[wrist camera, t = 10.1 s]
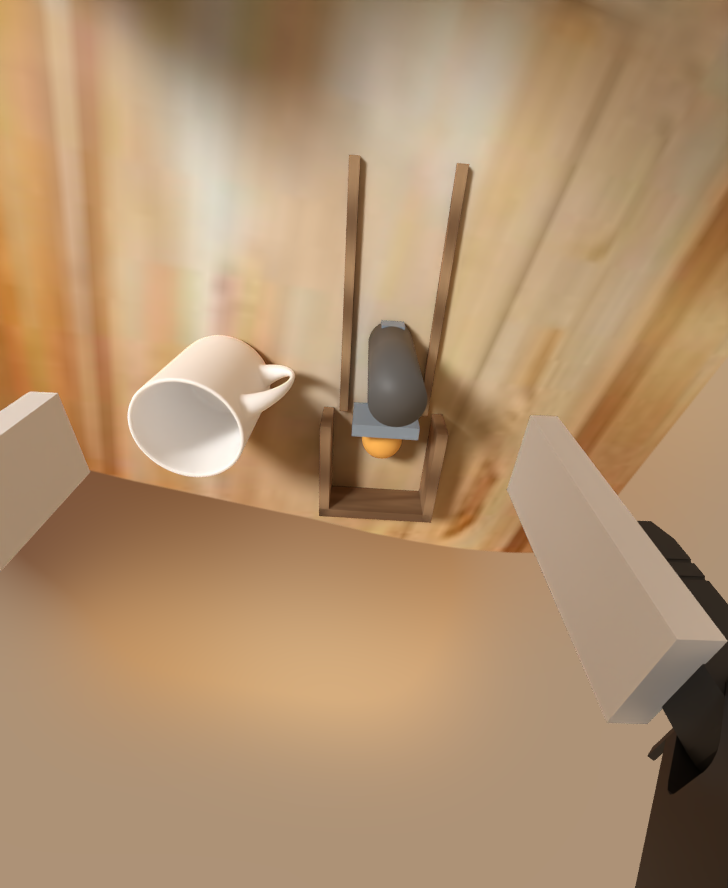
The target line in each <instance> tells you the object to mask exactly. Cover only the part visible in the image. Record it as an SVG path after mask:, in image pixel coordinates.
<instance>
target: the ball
mask: <svg viewBox="0 0 728 888" xmlns="http://www.w3.org/2000/svg"><path fill="white" fill-rule="evenodd" d="M362 443H363V446H364V448H365V450H366V451H367V452H368V453H369V454H370V455H372V456H374V457H376V458H388V457H391V456H392V455H394V454H395V453H396V452H397V451H398V450H399V448H400V446H401V443H402V439H390V438H374V437H362Z"/></svg>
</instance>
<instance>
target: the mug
mask: <svg viewBox="0 0 728 888" xmlns="http://www.w3.org/2000/svg"><path fill="white" fill-rule="evenodd" d="M287 376H290V378H289V380H288V381H286V382H285V383H283V384H282V385H280V386H278V387H275V388H273V389H270V384H272V383H274V382H275V381H277V380H279V379H281V378H284V377H287ZM294 380H295V373H294V371H293V370H292V369H291V368H289V367H286V366H283V365H266V364H265V362H264V360H263V359H262V357H261V356H260V355H259V354H258V353H257V352H256V351H255V350H254V349H253V348H252V347H251V346H249V345H248V344H246V343H245V342H243V341H241V340H239V339H237V338H234V337H230V336H225V335H212V336H207V337H204V338H201V339H199V340H197V341H195V342H194V343H192V344H191V345H190V346H188V347H187V348H186V349H185V350H184V351H182V352H181V353H180V354H179V355H178V356H177V357H176V358H174V359H173V360H172V361H171V362H170V363H169V364H168V365H166V366H165V367H164V368H163V369H162V370H161V371H160V372H158V373H157V374H156V375H155V376H154V377H153V378H152V379H150V380H149V381H148V382H147V383H146V384H145V385H144V386H142V387H141V388H140V389H139V390H138V391H137V392H136V393H135V395H134V396H133V398H132V400H131V402H130V404H129V409H128V424H129V428H130V432H131V434H132V437H133V438H134V440H135V442H136V444H137V445H138V446H139V448H140V449H141V450H142V451H143V452H144V453H145V454H146V455H147V456H148V457H149V458H150V459H151V460H152V461H154V462H155V463H156V464H158V465H160V466H161V467H163V468H165V469H167V470H169V471H172V472H174V473H177V474H180V475H184V476H190V477H208V476H213V475H217V474H219V473H222V472H224V471H226V470H227V469H229V468H230V467H231V466H233V465H234V464H235V463H236V461H237V460H238V459H239V457H240V455H241V453H242V451H243V449H244V447H245V445H246V443H247V441H248V439H249V437H250V435H251V433H252V431H253V429H254V427H255V425H256V423H257V421H258V419H259V416H260V414H261V412H263V411H264V410H266V409H267V408H269V407H271V406H272V405H273V404H275V403H276V402H277V401H279V400H280V399H281V398H282V397H283V396H284V395H285V394H286V393H287V392H288V391H289V389H290V388H291V386H292V385H293V383H294Z"/></svg>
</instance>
